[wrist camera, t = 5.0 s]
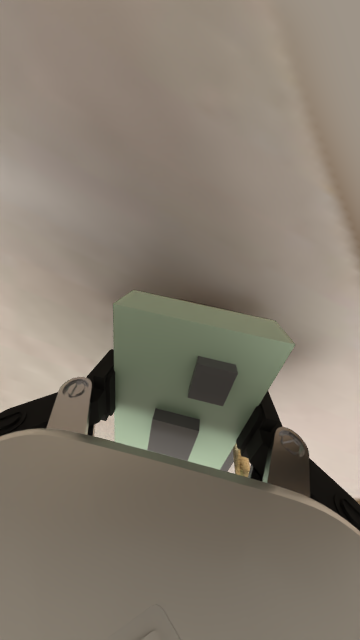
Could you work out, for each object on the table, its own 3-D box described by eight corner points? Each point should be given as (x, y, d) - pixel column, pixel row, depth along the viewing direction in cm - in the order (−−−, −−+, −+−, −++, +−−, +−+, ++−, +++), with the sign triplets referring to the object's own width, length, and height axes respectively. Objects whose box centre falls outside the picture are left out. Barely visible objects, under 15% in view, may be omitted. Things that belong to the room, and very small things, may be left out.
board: (133, 289, 8) (104, 309, 6) (275, 320, 8) (303, 354, 6) (127, 414, 13) (110, 453, 10) (217, 437, 12) (219, 483, 10)
